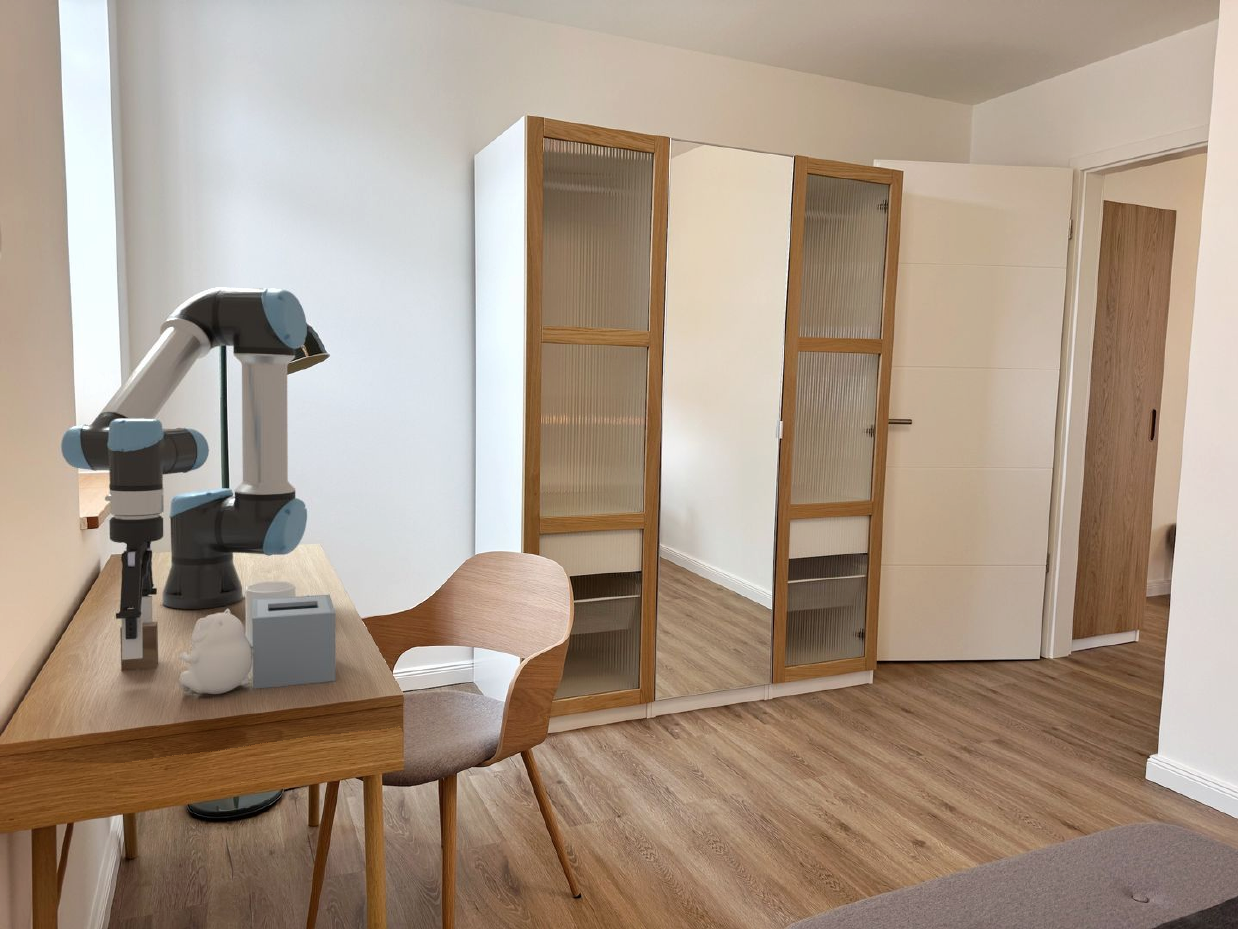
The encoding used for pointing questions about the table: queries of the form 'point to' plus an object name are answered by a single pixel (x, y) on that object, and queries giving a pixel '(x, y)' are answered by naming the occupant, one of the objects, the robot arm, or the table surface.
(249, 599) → the cup
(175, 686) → the table surface
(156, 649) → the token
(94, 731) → the table surface
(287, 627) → the coin box
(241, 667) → the figurine
